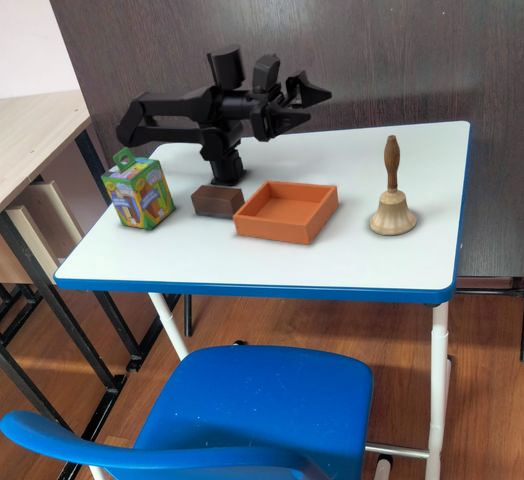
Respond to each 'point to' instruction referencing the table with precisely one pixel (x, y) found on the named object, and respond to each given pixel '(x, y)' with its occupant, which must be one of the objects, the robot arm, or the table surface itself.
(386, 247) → the table surface
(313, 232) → the tray
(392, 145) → the hand bell
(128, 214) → the chalk box
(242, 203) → the eraser
